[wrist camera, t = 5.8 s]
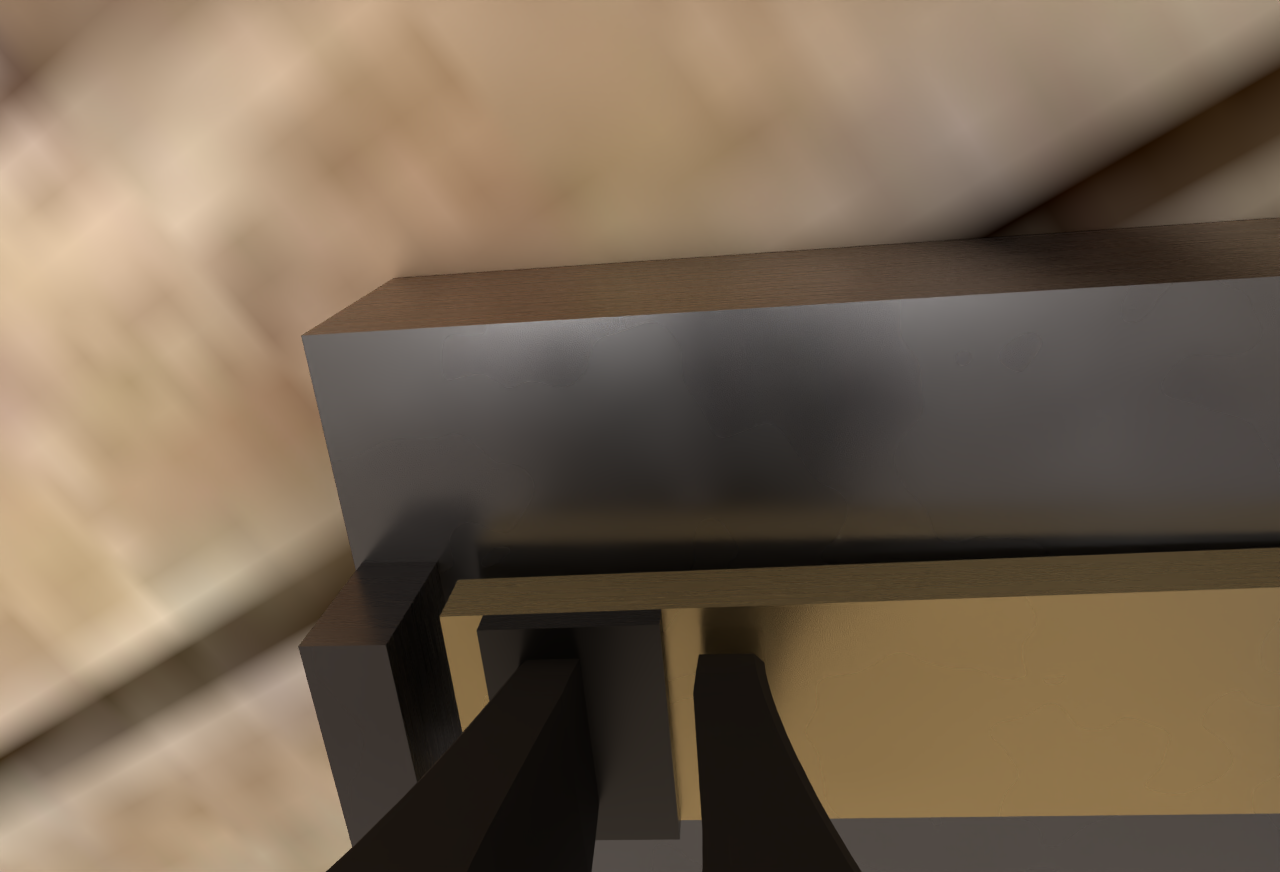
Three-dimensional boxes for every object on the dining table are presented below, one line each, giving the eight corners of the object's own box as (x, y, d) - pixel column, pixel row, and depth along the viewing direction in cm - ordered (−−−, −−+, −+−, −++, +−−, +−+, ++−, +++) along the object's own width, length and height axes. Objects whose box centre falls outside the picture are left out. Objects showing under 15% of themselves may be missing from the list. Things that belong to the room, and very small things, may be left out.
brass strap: (1550, 537, 10) (1645, 591, 9) (1479, 760, 11) (1557, 831, 10) (457, 579, 11) (432, 631, 10) (495, 776, 12) (474, 841, 11)
